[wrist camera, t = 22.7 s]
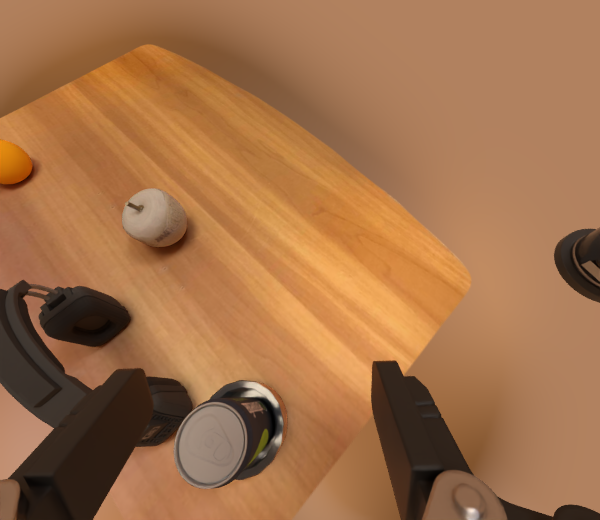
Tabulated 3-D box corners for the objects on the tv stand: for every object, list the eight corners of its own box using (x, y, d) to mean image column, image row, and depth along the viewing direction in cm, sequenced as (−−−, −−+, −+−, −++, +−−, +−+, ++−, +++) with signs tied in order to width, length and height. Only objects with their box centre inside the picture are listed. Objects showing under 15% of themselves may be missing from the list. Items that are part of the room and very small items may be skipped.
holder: (300, 405, 37) (298, 407, 32) (262, 484, 34) (253, 500, 29) (240, 369, 39) (229, 365, 34) (199, 439, 36) (180, 446, 31)
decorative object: (205, 225, 50) (180, 187, 41) (172, 266, 47) (138, 235, 37) (166, 205, 52) (135, 166, 43) (133, 243, 49) (91, 209, 40)
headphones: (203, 408, 37) (97, 422, 19) (162, 449, 36) (6, 505, 18) (118, 295, 45) (-16, 228, 27) (81, 324, 43) (-88, 274, 25)
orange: (24, 193, 55) (-18, 165, 48) (-10, 187, 56) (-55, 159, 49) (48, 162, 58) (13, 131, 51) (15, 157, 59) (-24, 126, 52)
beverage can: (285, 417, 36) (266, 432, 22) (253, 466, 34) (212, 515, 20) (246, 386, 38) (208, 382, 24) (215, 431, 36) (153, 454, 22)
